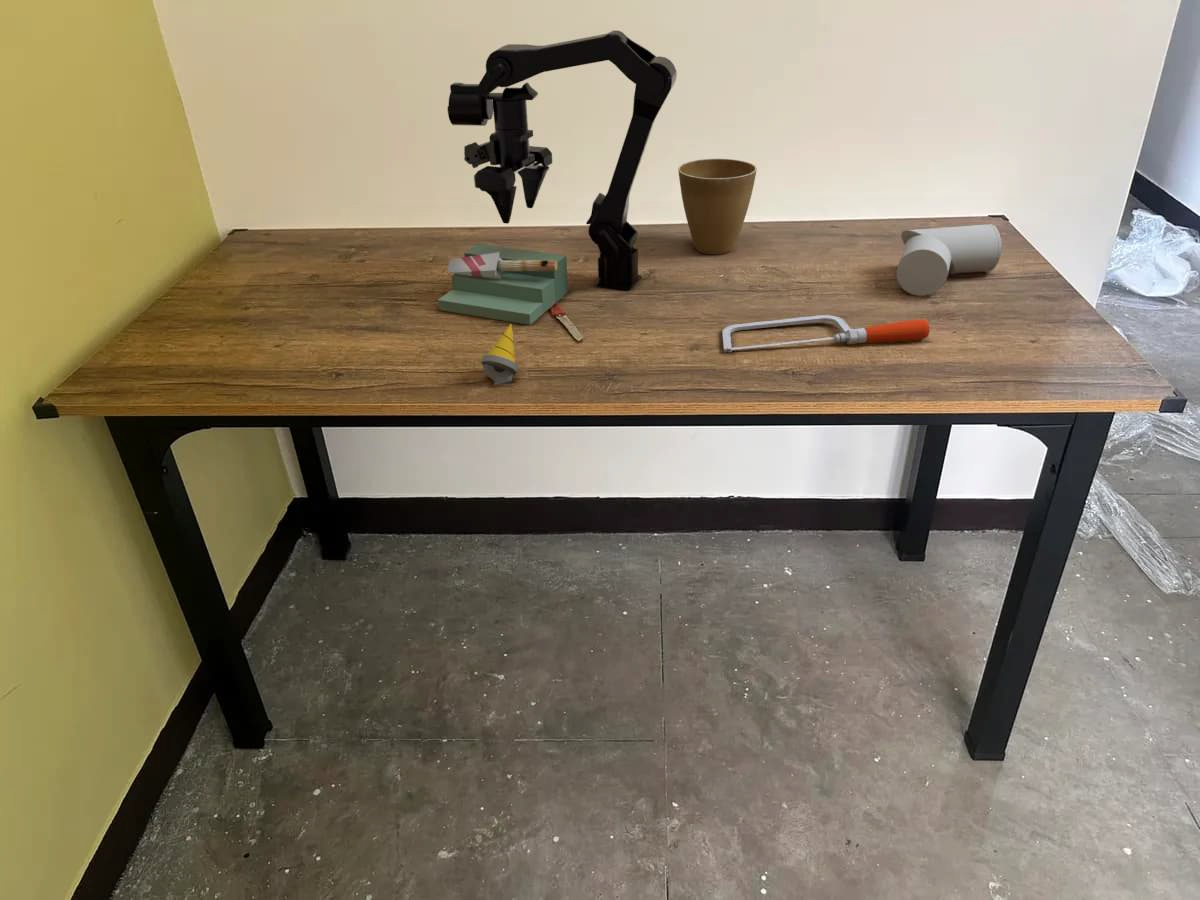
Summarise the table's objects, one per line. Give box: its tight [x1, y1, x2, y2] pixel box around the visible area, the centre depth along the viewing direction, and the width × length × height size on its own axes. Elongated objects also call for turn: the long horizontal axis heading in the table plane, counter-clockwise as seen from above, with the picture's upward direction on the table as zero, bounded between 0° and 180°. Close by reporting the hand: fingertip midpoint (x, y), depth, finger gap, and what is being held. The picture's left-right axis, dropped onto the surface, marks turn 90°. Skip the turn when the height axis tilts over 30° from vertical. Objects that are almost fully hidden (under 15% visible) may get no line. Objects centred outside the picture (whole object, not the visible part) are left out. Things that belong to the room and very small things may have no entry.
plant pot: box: [677, 158, 758, 255], centre depth 174 cm, size 15×15×16 cm
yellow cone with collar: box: [481, 323, 519, 386], centre depth 133 cm, size 5×5×10 cm
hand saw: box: [721, 314, 930, 353], centre depth 143 cm, size 33×3×10 cm
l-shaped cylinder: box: [895, 223, 1002, 297], centre depth 160 cm, size 18×11×20 cm
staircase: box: [437, 243, 569, 326], centre depth 157 cm, size 18×15×7 cm
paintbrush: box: [446, 252, 558, 280], centre depth 155 cm, size 4×3×20 cm
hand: (518, 215), depth 161 cm, fingers open, 9 cm apart
